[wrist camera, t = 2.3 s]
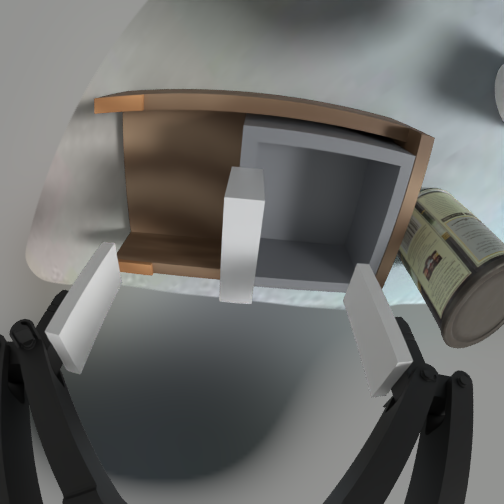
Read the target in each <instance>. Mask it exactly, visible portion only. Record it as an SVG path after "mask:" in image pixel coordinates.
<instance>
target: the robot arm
mask: <svg viewBox="0 0 504 504" xmlns="http://www.w3.org/2000/svg"><path fill="white" fill-rule="evenodd" d="M121 284H122V279H121V274H120V269H119V264H118V259H117V253H116V248H115V243H110V242H102V243H101V245H100V246H99V248H98V249H97V250H96V252H95V253H94V255H93V256H92V257H91V259H90V260H89V262H88V263H87V265H86V266H85V267H84V269H83V270H82V272H81V273H80V275H79V276H78V278H77V279H76V281H75V282H74V284H73V285H72V287H71V289H70V290H69V291H67V290H62V291H61V292H60V293H59V294H58V295H56V296H55V298H54V299H53V301H52V302H51V305H50V306H49V307H48V309H47V311H46V312H45V313H44V315H43V317H42V318H41V320H40V322H39V323H38V325H37V327H36V328H35V326H34V324H33V322H32V321H30V320H27V319H23V320H20V321H18V322H16V323H15V324H14V325H13V326H12V328H11V330H10V337H11V338H12V340H13V342H7V341H6V340H5V338H4V336H2V335H0V504H43V502H42V497H41V493H40V488H39V484H38V478H37V473H36V467H35V461H34V454H33V446H32V437H31V426H30V410H29V405H30V408H31V412H32V416H33V419H34V422H35V425H36V428H37V432H38V435H39V437H40V440H41V443H42V446H43V448H44V451H45V454H46V456H47V459H48V461H49V464H50V466H51V469H52V471H53V473H54V476H55V478H56V480H57V482H58V485H59V487H60V489H61V491H62V493H63V496H64V499H63V504H127V503H126V502H125V501H124V500H123V499H122V498H121V496H120V495H119V493H118V492H117V490H116V488H115V487H114V485H113V483H112V482H111V480H110V478H109V477H108V475H107V473H106V471H105V470H104V468H103V466H102V465H101V462H100V460H99V458H98V457H97V455H96V453H95V451H94V449H93V447H92V445H91V443H90V441H89V439H88V437H87V434H86V432H85V430H84V428H83V426H82V423H81V421H80V419H79V416H78V414H77V412H76V409H75V407H74V404H73V402H72V399H71V396H70V394H69V391H68V388H67V386H66V383H65V380H64V377H63V374H62V372H61V370H60V368H61V366H62V364H63V365H64V366H65V368H66V369H67V371H70V372H74V373H78V374H81V372H82V369H83V367H84V365H85V362H86V360H87V357H88V355H89V352H90V350H91V348H92V346H93V343H94V341H95V339H96V336H97V334H98V332H99V330H100V327H101V325H102V323H103V321H104V319H105V317H106V315H107V313H108V310H109V308H110V306H111V304H112V302H113V300H114V298H115V296H116V294H117V292H118V290H119V288H120V286H121ZM343 302H344V305H345V308H346V311H347V314H348V317H349V321H350V324H351V327H352V330H353V334H354V337H355V340H356V344H357V347H358V350H359V354H360V357H361V361H362V364H363V368H364V372H365V375H366V379H367V382H368V387H369V390H370V394H371V397H378V396H386V394H387V393H388V392H389V391H390V390H392V393H393V396H392V397H391V399H389V401H388V402H387V403H386V404H385V405H384V406H383V407H386V408H385V410H384V412H383V413H382V416H381V417H380V419H379V421H378V422H377V424H376V426H375V428H374V429H373V431H372V433H371V435H370V436H369V438H368V440H367V441H366V443H365V445H364V446H363V448H362V449H361V451H360V453H359V454H358V456H357V457H356V459H355V460H354V462H353V463H352V465H351V466H350V468H349V469H348V471H347V472H346V473H345V475H344V476H343V478H342V479H341V480H340V482H339V483H338V485H337V486H336V487H335V489H334V490H333V491H332V493H331V494H330V495H329V496H328V498H327V499H326V500H325V502H324V503H323V504H384V502H385V500H386V499H387V497H388V495H389V494H390V492H391V490H392V488H393V487H394V485H395V483H396V481H397V479H398V477H399V476H400V474H401V472H402V470H403V468H404V466H405V464H406V462H407V460H408V458H409V456H410V454H411V451H412V449H413V447H414V445H415V443H416V440H417V438H418V436H419V433H420V438H419V443H418V449H417V454H416V459H415V463H414V468H413V472H412V476H411V481H410V485H409V488H408V492H407V496H406V499H405V503H404V504H464V502H465V497H466V491H467V485H468V478H469V470H470V461H471V451H472V436H473V384H472V380H471V378H470V376H469V375H468V374H467V373H465V372H463V371H456V372H455V373H454V374H453V375H452V376H451V377H450V376H444V375H440V374H438V372H437V371H436V370H435V368H434V367H432V366H431V365H429V364H426V363H425V361H424V359H423V357H422V354H421V352H420V350H419V347H418V345H417V343H416V341H415V339H414V336H413V334H412V332H411V329H410V327H409V325H408V324H407V323H406V321H404V320H403V318H402V317H394V315H393V313H392V310H391V308H390V306H389V304H388V302H387V300H386V297H385V295H384V293H383V291H382V289H381V287H380V285H379V283H378V281H377V279H376V277H375V275H374V273H373V271H372V269H371V267H370V265H369V264H360V263H357V264H356V267H355V270H354V273H353V276H352V278H351V281H350V284H349V286H348V289H347V292H346V294H345V297H344V300H343Z"/></svg>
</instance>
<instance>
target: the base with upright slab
mask: <svg viewBox="0 0 504 504" xmlns="http://www.w3.org/2000/svg"><path fill="white" fill-rule="evenodd" d="M495 99H496V105H497V108H498V111H499V114H500V116H501V118H502V120H503V122H504V64H503V65H502V66H501V67H500V69H499V70H498V73H497V76H496V80H495Z"/></svg>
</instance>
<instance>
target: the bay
mask: <svg viewBox="0 0 504 504" xmlns="http://www.w3.org/2000/svg"><path fill="white" fill-rule="evenodd" d="M94 112H95V114H97V113H109V112H123V144H124V164H125V179H126V191H127V202H128V211H129V220H130V228H131V232H130V234H129V235H128V237H127V238H126V240H125V241H124V243H123V244H122V246H121V248H120V249H119V251H118V252H117V259H118V264H119V269H120V272H126V273H135V274H143V275H153V273H159V274H169V275H178V276H188V277H198V278H208V279H219V280H220V270H221V248H222V229H223V211H224V197H225V192H226V188H227V184H228V180H229V176H230V172H231V168H232V167H240V158H241V147H242V136H243V126H244V122H245V118H246V114H247V113H253V114H263V115H272V116H280V117H288V118H295V119H302V120H308V121H315V122H320V123H326V124H331V125H337V126H342V127H347V128H352V129H356V130H361V131H365V132H369V133H374V134H378V135H382V136H384V137H385V138H387V139H389V140H390V141H392V142H394V143H395V144H397V145H399V146H400V147H402V148H404V149H405V150H407V151H408V152H410V153H411V154H413V155H415V156H416V157H415V160H414V164H413V168H412V171H411V175H410V178H409V182H408V185H407V188H406V192H405V195H404V198H403V201H402V204H401V207H400V210H399V213H398V216H397V219H396V222H395V225H394V228H393V231H392V234H391V236H390V239H389V242H388V244H387V247H386V250H385V252H384V255H383V258H382V260H381V263H380V265H379V268H378V270H377V273H376V275H375V277H376V279H377V281H378V283H379V285H380V287H381V289H382V288H383V286H384V283H385V281H386V279H387V277H388V274H389V272H390V270H391V267H392V265H393V263H394V260H395V258H396V255H397V253H398V250H399V248H400V245H401V243H402V240H403V238H404V235H405V232H406V230H407V227H408V224H409V221H410V219H411V216H412V213H413V210H414V207H415V204H416V201H417V198H418V195H419V192H420V189H421V186H422V182H423V179H424V176H425V172H426V169H427V165H428V162H429V158H430V155H431V151H432V147H433V143H434V139H435V138H434V137H432V136H430V135H427V134H425V133H423V132H421V131H419V130H417V129H415V128H413V127H410V126H408V125H406V124H404V123H401V122H399V121H397V120H394V119H392V118H388V117H385V116H381V115H377V114H374V113H370V112H366V111H361V110H357V109H353V108H349V107H344V106H339V105H334V104H329V103H324V102H319V101H313V100H307V99H301V98H294V97H287V96H280V95H272V94H263V93H253V92H241V91H226V90H203V89H160V90H138V91H126V92H121V93H116V94H112V95H108V96H103V97H99V98H95V99H94Z"/></svg>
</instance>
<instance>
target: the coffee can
mask: <svg viewBox="0 0 504 504" xmlns="http://www.w3.org/2000/svg"><path fill="white" fill-rule="evenodd" d="M397 256H398V257H399V258H400V260H401V262H402V263H403V265H404V267H405V268H406V270H407V271H408V273H409V274H410V276H411V278H412V279H413V281H414V283H415V285H416V286H417V288H418V290H419V291H420V293H421V295H422V297H423V298H424V300H425V302H426V304H427V306H428V307H429V309H430V311H431V313H432V315H433V317H434V318H435V320H436V322H437V324H438V326H439V328H440V330H441V335H442V337H443V340H444V341H445V343H446V344H447V345H448V346H450V347H453V348H464V347H468V346H471V345H473V344H476V343H478V342H480V341H482V340H484V339H485V338H487V337H489V336H490V335H491V334H493V333H494V332H495V331H496V330H498V329H499V328H500V327H501V326H502V325H503V324H504V243H503V242H502V241H501V240H500V239H499V238H498V237H497V236H496V235H495V234H494V233H493V232H492V231H490V230H489V229H488V228H487V227H486V226H485V225H484V224H483V223H482V222H481V221H480V220H479V219H478V218H477V217H475V216H474V215H473V214H472V213H471V212H470V211H469V210H468V209H467V208H465V207H464V206H463V205H462V204H461V203H460V202H458V201H457V200H456V199H455V198H454V197H453V196H452V195H451V194H450V193H448V192H447V191H445V190H442V189H435V188H434V189H426V190H424V191H421V192H419V195H418V198H417V201H416V204H415V207H414V210H413V213H412V216H411V219H410V221H409V224H408V227H407V230H406V232H405V235H404V238H403V240H402V243H401V245H400V248H399V250H398V253H397Z"/></svg>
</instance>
